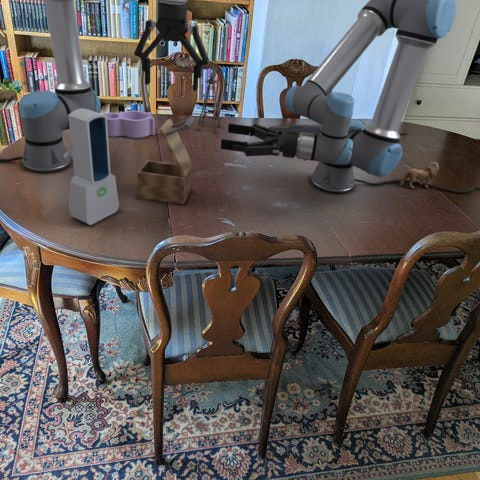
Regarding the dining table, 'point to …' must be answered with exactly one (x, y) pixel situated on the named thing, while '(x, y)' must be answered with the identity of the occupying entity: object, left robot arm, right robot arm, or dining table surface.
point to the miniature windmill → (212, 82)
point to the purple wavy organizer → (130, 124)
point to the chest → (162, 182)
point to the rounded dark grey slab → (298, 129)
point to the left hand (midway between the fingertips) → (171, 86)
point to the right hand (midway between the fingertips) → (224, 135)
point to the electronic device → (91, 168)
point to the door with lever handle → (177, 143)
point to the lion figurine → (421, 174)
